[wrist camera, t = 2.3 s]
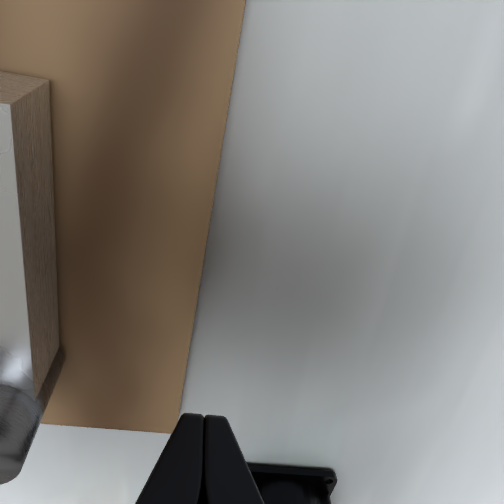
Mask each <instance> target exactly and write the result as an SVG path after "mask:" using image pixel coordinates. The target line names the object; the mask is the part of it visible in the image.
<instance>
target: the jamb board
mask: <svg viewBox="0 0 504 504" xmlns="http://www.w3.org/2000/svg"><path fill="white" fill-rule="evenodd" d="M245 3H246V0H0V71H1V72H7V73H12V74H18V75H23V76H29V77H35V78H40V79H46V80H49V91H50V117H51V143H52V168H53V194H54V220H55V245H56V271H57V297H58V322H59V346H60V348H61V349H62V351H63V354H64V359H65V361H64V366H63V368H62V371H61V373H60V376H59V378H58V381H57V383H56V385H55V388H54V390H53V393H52V395H51V398H50V400H49V403H48V405H47V408H46V410H45V412H44V415H43V417H42V420H41V422H40V423H41V424H53V425H66V426H79V427H92V428H105V429H118V430H131V431H144V432H157V433H170V434H172V432H173V430H174V428H175V427H176V425H177V422H178V416H179V410H180V404H181V398H182V391H183V385H184V379H185V373H186V367H187V361H188V354H189V348H190V342H191V336H192V330H193V324H194V317H195V311H196V305H197V299H198V293H199V287H200V280H201V274H202V268H203V262H204V256H205V250H206V243H207V237H208V231H209V225H210V219H211V213H212V206H213V200H214V194H215V188H216V182H217V176H218V169H219V163H220V157H221V151H222V145H223V139H224V132H225V126H226V120H227V114H228V108H229V102H230V95H231V89H232V83H233V77H234V71H235V65H236V58H237V52H238V46H239V40H240V34H241V28H242V21H243V15H244V9H245Z"/></svg>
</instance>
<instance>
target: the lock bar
mask: <svg viewBox="0 0 504 504" xmlns="http://www.w3.org/2000/svg"><path fill="white" fill-rule="evenodd" d="M64 361H65V359H64V354H63V351H62V349H61V348H60V346H59V322H58V297H57V271H56V245H55V220H54V194H53V168H52V143H51V117H50V91H49V80H46V79H40V78H35V77H29V76H23V75H18V74H12V73H7V72H1V71H0V484H4V483H7V482H9V481H11V480H13V479H14V478H15V477H16V476H18V474H19V473H20V471H21V469H22V466H23V464H24V462H25V459H26V457H27V454H28V452H29V449H30V447H31V444H32V442H33V439H34V437H35V435H36V432H37V430H38V427H39V425H40V422H41V420H42V417H43V415H44V412H45V410H46V408H47V405H48V403H49V400H50V398H51V395H52V393H53V390H54V388H55V385H56V383H57V381H58V378H59V376H60V373H61V371H62V368H63V366H64Z"/></svg>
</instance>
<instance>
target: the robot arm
mask: <svg viewBox="0 0 504 504" xmlns="http://www.w3.org/2000/svg"><path fill="white" fill-rule="evenodd" d="M336 483H337V477H336V474H335V472H333V471H327V470H312V469H298V468H283V467H269V466H255V465H247V463H246V461H245V459H244V456H243V454H242V452H241V449H240V447H239V445H238V443H237V440H236V438H235V436H234V433H233V431H232V429H231V427H230V424H229V422H228V420H227V419H226V417H224V416H216V415H206V416H205V417H203V415H201V414H193V413H184V414H182V415H181V417H180V419H179V421H178V423H177V425H176V427H175V428H174V430H173V432H172V434H171V436H170V438H169V440H168V442H167V444H166V446H165V448H164V450H163V451H162V453H161V455H160V457H159V459H158V461H157V463H156V465H155V467H154V469H153V471H152V473H151V474H150V476H149V478H148V480H147V482H146V484H145V486H144V488H143V490H142V492H141V494H140V495H139V497H138V499H137V501H136V503H135V504H331V501H330V495H331V493H332V491H333V489H334V487H335V485H336Z"/></svg>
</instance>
